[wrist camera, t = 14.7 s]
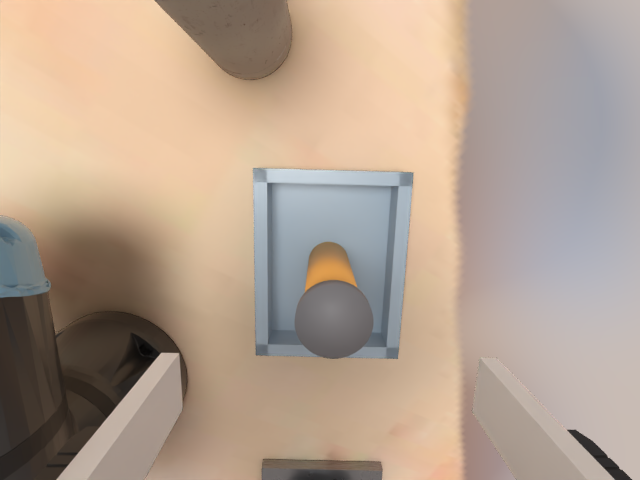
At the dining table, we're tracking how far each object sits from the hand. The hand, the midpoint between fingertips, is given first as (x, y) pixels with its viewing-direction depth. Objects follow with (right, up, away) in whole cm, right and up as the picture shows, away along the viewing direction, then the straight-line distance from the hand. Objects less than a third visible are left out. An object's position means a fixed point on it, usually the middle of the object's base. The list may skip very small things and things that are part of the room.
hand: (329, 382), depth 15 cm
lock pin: (0, +4, +19) cm, 20 cm away
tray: (0, +4, +20) cm, 21 cm away
